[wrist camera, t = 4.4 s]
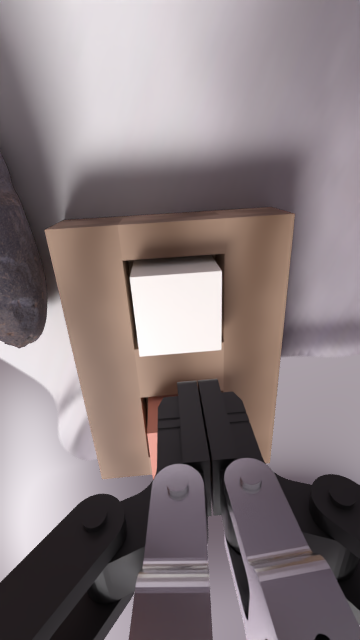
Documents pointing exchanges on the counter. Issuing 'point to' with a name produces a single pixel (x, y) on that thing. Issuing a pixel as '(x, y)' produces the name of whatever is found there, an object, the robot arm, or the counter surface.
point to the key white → (177, 304)
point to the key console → (166, 370)
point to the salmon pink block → (153, 428)
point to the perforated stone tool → (19, 271)
